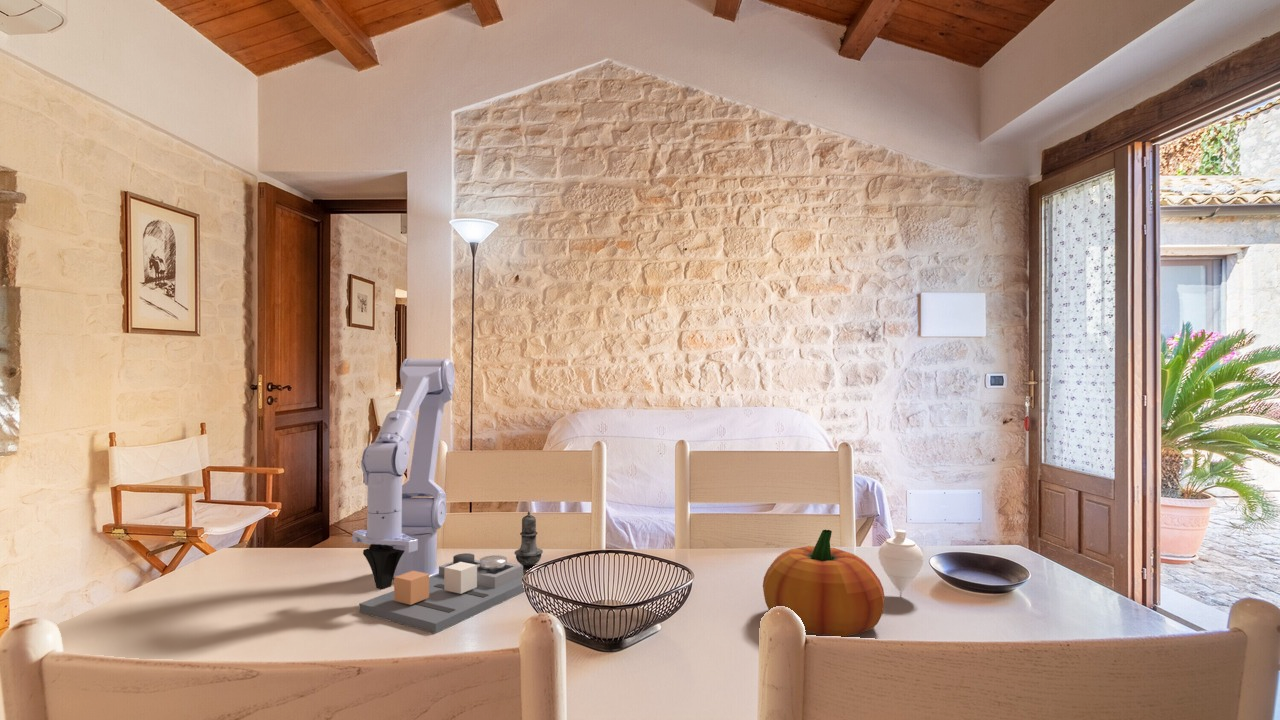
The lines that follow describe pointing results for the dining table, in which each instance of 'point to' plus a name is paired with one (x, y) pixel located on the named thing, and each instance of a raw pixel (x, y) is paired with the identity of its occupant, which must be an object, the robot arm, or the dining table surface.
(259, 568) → the dining table surface
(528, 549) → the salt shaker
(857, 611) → the pumpkin
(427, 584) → the lever near
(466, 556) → the button black
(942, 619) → the dining table surface
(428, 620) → the panel
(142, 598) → the dining table surface
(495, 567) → the button silver
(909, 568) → the spinning top
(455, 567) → the lever middle
